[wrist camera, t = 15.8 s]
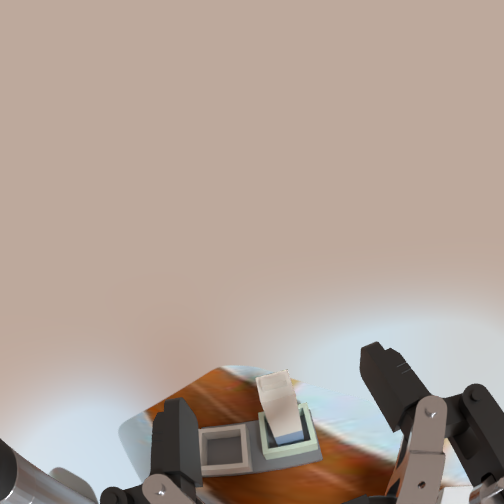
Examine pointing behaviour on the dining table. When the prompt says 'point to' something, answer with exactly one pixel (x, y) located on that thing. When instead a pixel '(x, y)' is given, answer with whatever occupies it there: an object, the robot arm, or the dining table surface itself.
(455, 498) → the supplement box
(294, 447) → the double bin tray
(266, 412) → the milk carton
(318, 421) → the dining table surface
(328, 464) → the dining table surface
